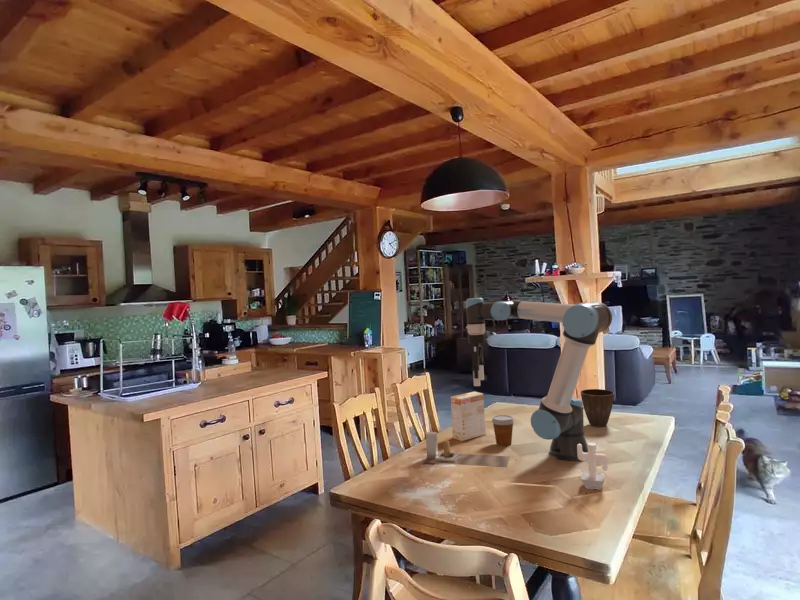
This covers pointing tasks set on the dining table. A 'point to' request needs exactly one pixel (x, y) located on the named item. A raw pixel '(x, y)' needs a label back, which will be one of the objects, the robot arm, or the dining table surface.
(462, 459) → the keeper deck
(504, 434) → the disposable coffee cup
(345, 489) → the dining table surface
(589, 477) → the figurine
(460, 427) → the coffeecake box
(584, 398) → the plant pot
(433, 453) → the tie down link
